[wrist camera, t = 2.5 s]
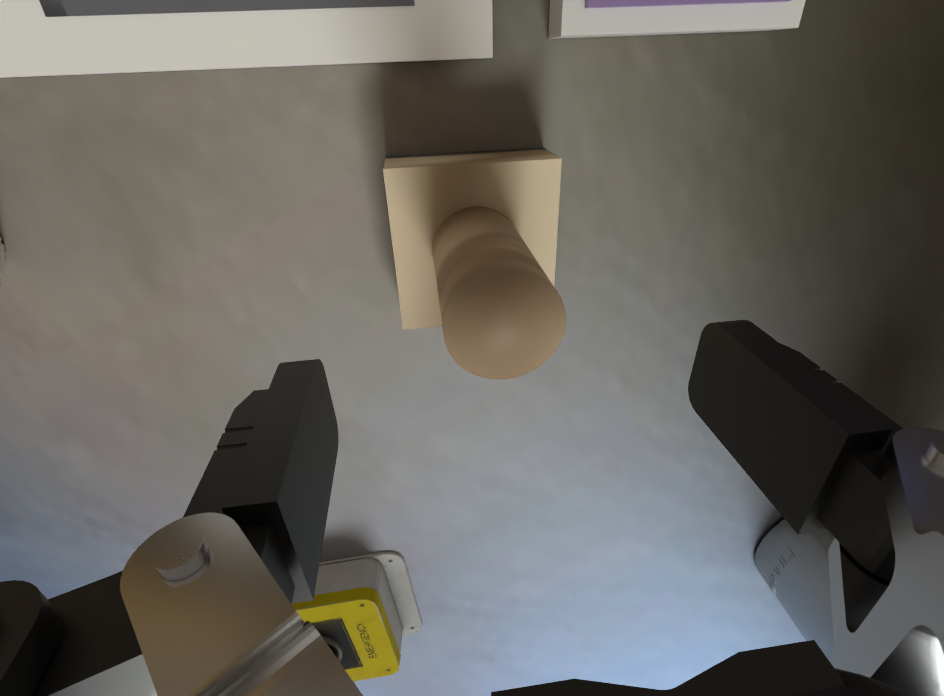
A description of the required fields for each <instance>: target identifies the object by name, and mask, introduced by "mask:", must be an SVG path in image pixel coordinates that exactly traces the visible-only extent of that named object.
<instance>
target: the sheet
mask: <svg viewBox="0 0 944 696" xmlns="http://www.w3.org/2000/svg"><path fill="white" fill-rule="evenodd" d="M479 58H493V28H492V0H0V78H3V77H28V76H53V75H78V74H103V73H128V72H153V71H178V70H203V69H228V68H253V67H278V66H303V65H328V64H354V63H379V62H404V61H429V60H454V59H479Z"/></svg>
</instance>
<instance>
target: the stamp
mask: <svg viewBox="0 0 944 696" xmlns="http://www.w3.org/2000/svg"><path fill="white" fill-rule="evenodd" d="M561 163H562V158H560V157H558V156H557V155H555V154H553V153H552V152H550V151H548V150H547V149H545V148H527V149H509V150H491V151H474V152H456V153H438V154H420V155H402V156H386V158H385V163H384V167H383V173H384V181H385V189H386V197H387V205H388V213H389V221H390V229H391V237H392V245H393V253H394V261H395V269H396V277H397V285H398V293H399V301H400V309H401V317H402V325H403V329H414V328H425V327H437V326H442V327H443V334H444V341H445V344H446V347H447V349H448V351H449V353H450V355H451V356H452V358H453V359H454V360H455V361H456V362H457V364H458V365H460V366H461V367H462V368H463V369H465V370H466V371H468V372H470V373H472V374H474V375H476V376H480V377H483V378H488V379H509V378H515V377H518V376H522V375H524V374H527V373H529V372H531V371H533V370H535V369H536V368H538V367H539V366H541V365H542V364H543V363H544V362H546V361H547V360H548V359H549V358H550V357H551V356H552V354H553V353H554V352H555V351H556V349H557V347H558V346H559V344H560V342H561V340H562V338H563V335H564V331H565V326H566V313H565V307H564V304H563V301H562V299H561V297H560V295H559V294H558V292H557V291H556V289H555V287H554V281H555V264H556V247H557V231H558V214H559V197H560V180H561Z"/></svg>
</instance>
